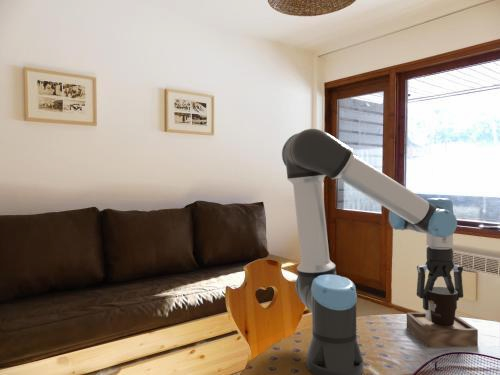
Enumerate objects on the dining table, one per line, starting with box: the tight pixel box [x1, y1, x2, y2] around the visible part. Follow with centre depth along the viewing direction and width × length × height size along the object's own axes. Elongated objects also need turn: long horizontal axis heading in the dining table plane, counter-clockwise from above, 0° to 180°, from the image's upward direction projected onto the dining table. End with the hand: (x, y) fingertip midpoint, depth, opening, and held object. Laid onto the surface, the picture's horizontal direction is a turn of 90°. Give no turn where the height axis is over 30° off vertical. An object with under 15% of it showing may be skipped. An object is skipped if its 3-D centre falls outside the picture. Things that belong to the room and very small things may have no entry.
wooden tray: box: [406, 311, 479, 348], centre depth 121 cm, size 15×15×5 cm
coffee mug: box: [428, 286, 458, 326], centre depth 121 cm, size 12×9×10 cm
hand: (439, 319), depth 121 cm, fingers closed on coffee mug, 6 cm apart
